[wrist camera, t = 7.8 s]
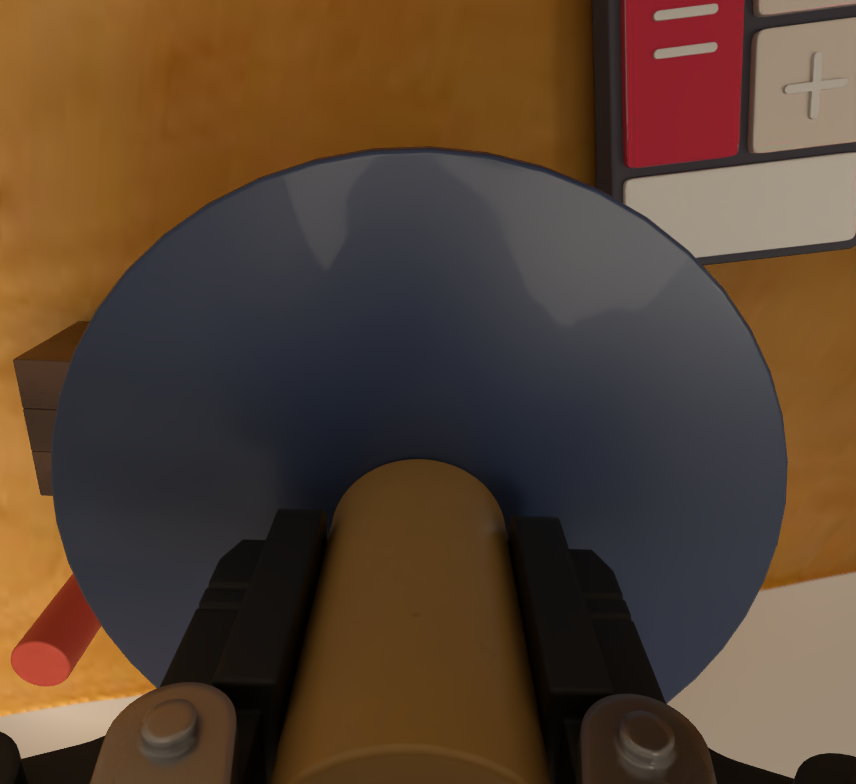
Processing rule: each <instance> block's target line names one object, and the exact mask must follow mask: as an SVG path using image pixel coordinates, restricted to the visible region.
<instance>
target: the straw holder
mask: <svg viewBox="0 0 856 784" xmlns="http://www.w3.org/2000/svg"><path fill="white" fill-rule="evenodd" d="M89 323H90V322H77V323H75V324H73V325H72V326H70V327H68V328H67V329H65V330H63V331H61V332H60V333H58V334H56V335H54V336H53V337H51V338H49V339H48V340H46V341H44V342H42V343H41V344H39V345H37V346H36V347H34V348H32V349H30V350H29V351H27V352H25V353H24V354H22V355H20V356H18V357H17V358H15V359H14V360H13V362H14V367H15V372H16V377H17V381H18V386H19V391H20V396H21V401H22V406H23V408H24V409H23V411H24V416H25V421H26V426H27V431H28V435H29V440H30V445H31V450H32V455H33V460H34V465H35V470H36V475H37V479H38V484H39V489H40V494H41V495H47V496H53V493H52V486H51V440H52V433H53V427H54V422H55V416H56V410H57V405H58V399H59V393H60V391H61V388H62V385H63V382H64V379H65V376H66V373H67V370H68V368H69V365H70V362H71V359H72V356H73V353H74V350H75V349H76V347H77V345H78V343H79V341H80V339H81V337H82V336H83V334H84V332H85V330H86V328H87V326H88V324H89Z"/></svg>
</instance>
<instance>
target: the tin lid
mask: <svg viewBox="0 0 856 784" xmlns="http://www.w3.org/2000/svg"><path fill="white" fill-rule="evenodd" d="M787 463H788V460H787V451H786V442H785V433H784V424H783V415H782V412H781V408H780V404H779V401H778V397H777V394H776V390H775V386H774V383H773V379H772V376H771V372H770V370H769V368H768V366H767V363H766V361H765V359H764V357H763V355H762V352H761V350H760V348H759V346H758V344H757V342H756V339H755V337H754V335H753V333H752V331H751V329H750V327H749V326H748V324H747V323H746V321H745V320H744V318H743V317H742V315H741V314H740V312H739V311H738V309H737V308H736V306H735V305H734V303H733V302H732V300H731V299H730V297H729V296H728V294H727V293H726V291H725V290H724V288H723V287H722V286H721V285H720V284H719V283H718V282H717V281H716V280H715V279H714V277H713V276H712V275H711V274H710V273H709V272H708V271H707V270H706V269H705V268H704V267H703V265H702V264H701V263H700V262H699V261H698V260H697V259H696V258H695V257H694V256H693V255H692V253H691V252H690V251H689V250H687V249H686V248H685V247H684V246H682V245H681V244H680V243H679V242H677V241H676V240H675V239H674V238H672V237H671V236H670V235H669V234H667V233H666V232H665V231H664V230H662V229H661V228H660V227H659V226H657V225H656V224H655V223H654V222H652V221H651V220H650V219H649V218H647V217H646V216H644V215H642V214H641V213H639V212H637V211H636V210H634V209H632V208H630V207H629V206H627V205H625V204H624V203H622V202H620V201H618V200H617V199H615V198H613V197H612V196H610V195H608V194H606V193H605V192H603V191H601V190H600V189H597V188H595V187H593V186H591V185H588V184H586V183H583V182H581V181H578V180H576V179H573V178H571V177H568V176H566V175H563V174H561V173H558V172H556V171H553V170H551V169H549V168H546V167H544V166H541V165H537V164H533V163H529V162H525V161H521V160H517V159H513V158H509V157H505V156H501V155H497V154H492V153H488V152H481V151H471V150H462V149H452V148H442V147H432V146H424V147H397V148H373V149H367V150H362V151H356V152H350V153H345V154H339V155H333V156H328V157H322V158H317V159H314V160H311V161H308V162H305V163H302V164H299V165H296V166H293V167H290V168H287V169H284V170H281V171H278V172H275V173H272V174H269V175H266V176H263V177H260V178H258V179H256V180H254V181H252V182H250V183H248V184H246V185H244V186H242V187H240V188H238V189H236V190H234V191H232V192H230V193H228V194H226V195H224V196H222V197H220V198H218V199H216V200H214V201H212V202H210V203H208V204H206V205H205V206H204V207H202V208H201V209H199V210H198V211H196V212H195V213H194V214H192V215H191V216H189V217H188V218H186V219H185V220H184V221H182V222H181V223H179V224H178V225H176V226H175V227H174V228H172V229H171V230H169V231H168V232H166V233H165V234H164V235H163V236H162V237H161V238H160V239H158V240H157V241H156V242H155V243H154V244H153V245H152V246H151V247H150V248H149V249H148V250H147V251H146V252H145V253H144V254H143V255H142V256H141V257H140V258H139V259H138V260H136V261H135V262H134V263H133V264H132V265H131V266H130V267H129V268H128V269H127V270H126V271H125V273H124V274H123V275H122V277H121V278H120V279H119V281H118V282H117V283H116V285H115V286H114V287H113V288H112V290H111V291H110V292H109V294H108V295H107V296H106V298H105V299H104V300H103V302H102V303H101V304H100V305H99V307H98V308H97V310H96V311H95V313H94V315H93V317H92V319H91V321H90V323H89V324H88V326H87V328H86V330H85V332H84V334H83V336H82V337H81V339H80V341H79V343H78V345H77V347H76V349H75V350H74V353H73V356H72V359H71V362H70V365H69V368H68V370H67V373H66V376H65V379H64V382H63V385H62V388H61V391H60V393H59V399H58V405H57V410H56V416H55V422H54V427H53V433H52V440H51V486H52V493H53V500H54V508H55V515H56V522H57V526H58V529H59V532H60V536H61V539H62V543H63V546H64V550H65V553H66V556H67V560H68V563H69V565H70V567H71V569H72V571H73V574H74V576H75V578H76V580H77V582H78V585H79V587H80V589H81V591H82V594H83V596H84V598H85V600H86V601H87V603H88V604H89V606H90V608H91V609H92V611H93V612H94V614H95V616H96V617H97V619H98V620H99V622H100V624H101V625H102V627H103V628H104V630H105V632H106V633H107V634H108V635H109V637H110V638H111V639H112V640H113V642H114V643H115V644H116V645H117V646H118V648H119V649H120V650H121V651H122V653H123V654H124V655H125V656H126V658H127V659H128V660H129V661H130V662H131V663H132V664H133V665H134V666H135V667H136V668H137V669H138V670H139V671H140V672H141V673H142V674H143V675H144V676H145V677H146V678H147V679H148V680H149V681H150V682H151V683H152V684H153V685H154V686H155V687H156V688H159V687H160V685H161V683H162V681H163V679H164V677H165V674H166V672H167V670H168V668H169V666H170V664H171V662H172V660H173V657H174V655H175V653H176V651H177V649H178V647H179V645H180V643H181V640H182V638H183V636H184V634H185V632H186V630H187V628H188V626H189V624H190V621H191V619H192V617H193V615H194V613H195V611H196V609H198V608H199V602H200V600H201V598H202V596H203V594H204V592H205V590H206V588H208V583H209V581H210V579H211V577H212V575H213V573H214V571H215V568H216V566H217V564H218V562H219V560H220V559H221V558H222V557H223V556H224V555H225V554H226V553H228V552H229V551H230V550H231V549H232V548H233V547H235V546H236V545H237V544H238V543H239V542H240V541H241V540H243V539H249V540H266V538H267V536H268V533H269V530H270V528H271V525H272V523H273V520H274V517H275V515H276V513H277V511H278V509H308V510H325V512H326V518H327V546H326V550H325V554H324V558H323V562H322V566H321V570H320V574H319V579H318V583H317V587H316V591H315V595H314V599H313V603H312V607H311V612H310V616H309V620H308V624H307V628H306V632H305V636H304V641H303V645H302V649H301V653H300V657H299V661H298V665H297V669H296V674H295V678H294V682H293V686H292V690H291V694H290V698H289V702H288V707H287V711H286V715H285V719H284V723H283V727H282V731H281V735H280V740H279V744H278V748H277V752H276V756H275V760H274V764H273V768H272V773H271V777H270V781H269V784H551V779H550V773H549V768H548V762H547V757H546V751H545V745H544V740H543V735H542V729H541V724H540V718H539V712H538V707H537V701H536V696H535V690H534V684H533V679H532V673H531V668H530V662H529V657H528V651H527V645H526V640H525V634H524V629H523V623H522V617H521V612H520V606H519V601H518V595H517V590H516V584H515V578H514V573H513V567H512V562H511V556H510V550H509V545H508V537H509V527H510V521H511V517H512V516H539V517H558V518H559V520H560V522H561V526H562V529H563V532H564V535H565V538H566V541H567V544H568V548H569V549H588V550H593V551H594V552H595V553H596V554H597V555H598V556H599V557H600V558H601V559H602V560H603V561H604V562H605V563H606V564H607V565H608V566H609V567H610V568H611V569H612V570H613V571H614V574H615V576H616V579H617V581H618V584H619V586H620V589H621V591H622V594H623V600H625V601H626V604H627V606H628V609H629V611H630V614H631V620H632V621H634V624H635V626H636V629H637V631H638V634H639V636H640V639H641V641H642V644H643V646H644V649H645V652H646V654H647V657H648V659H649V662H650V664H651V667H652V669H653V672H654V674H655V677H656V679H657V682H658V684H659V687H660V689H661V692H662V694H663V697H664V699H665V702H666V704H667V703H668V702H669V701H670V700H672V699H673V698H674V697H675V696H676V695H677V694H678V693H680V692H681V691H682V690H683V689H684V688H685V687H687V686H688V685H689V684H690V683H691V682H692V681H693V680H695V679H696V678H697V677H698V676H699V674H700V673H701V672H702V671H703V670H704V669H705V668H706V667H707V666H708V664H709V663H710V662H711V661H712V660H713V659H714V658H715V657H716V656H717V655H718V654H719V652H720V651H721V650H722V649H723V648H724V646H725V645H726V644H727V642H728V641H729V639H730V638H731V637H732V635H733V634H734V632H735V631H736V629H737V628H738V626H739V625H740V624H741V622H742V621H743V619H744V618H745V616H746V615H747V613H748V611H749V609H750V607H751V605H752V603H753V601H754V599H755V598H756V596H757V594H758V592H759V590H760V588H761V586H762V584H763V582H764V580H765V577H766V574H767V572H768V569H769V566H770V563H771V560H772V558H773V555H774V552H775V549H776V546H777V544H778V539H779V534H780V529H781V524H782V519H783V514H784V509H785V504H786V485H787Z"/></svg>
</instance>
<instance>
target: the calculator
mask: <svg viewBox="0 0 856 784" xmlns="http://www.w3.org/2000/svg"><path fill="white" fill-rule="evenodd" d="M592 21H593V53H594V86H595V118H596V151H597V173H596V183H595V188H597V189H600V190H601V191H603V192H605V193H606V194H608V195H610V196H612V197H613V198H615V199H617V200H618V201H620V202H622V203H624V204H625V205H627V206H629V207H630V208H632V209H634V210H636V211H637V212H639V213H641V214H642V215H644V216H646V217H647V218H649V219H650V220H651V221H652V222H654V223H655V224H656V225H657V226H659V227H660V228H661V229H662V230H664V231H665V232H666V233H667V234H669V235H670V236H671V237H672V238H674V239H675V240H676V241H677V242H679V243H680V244H681V245H682V246H684V247H685V248H686V249H687V250H689V251H690V252H691V253H692V255H693V256H694V257H695V258H696V259H697V260H698V261H699V262H700V263H701V264H702V265H711V264H720V263H729V262H737V261H746V260H755V259H764V258H773V257H782V256H790V255H799V254H808V253H817V252H826V251H835V250H843V249H849V248H852V247H854V246H855V245H856V0H592Z"/></svg>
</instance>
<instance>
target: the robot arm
mask: <svg viewBox="0 0 856 784" xmlns="http://www.w3.org/2000/svg"><path fill="white" fill-rule="evenodd" d="M508 545H509V550H510V556H511V562H512V567H513V573H514V578H515V584H516V590H517V595H518V601H519V606H520V612H521V617H522V623H523V629H524V634H525V640H526V645H527V651H528V657H529V662H530V668H531V673H532V679H533V684H534V690H535V696H536V701H537V707H538V712H539V718H540V724H541V729H542V735H543V740H544V745H545V751H546V757H547V762H548V768H549V773H550V779H551V784H856V757H854V756H850V755H844V754H835V753H827V754H819V755H816V756H813V757H810V758H809V759H807V760H806V761H804V762H803V763H802V765H801V766H800V767H799V768H798V771H797V773H796V776H795V778H794V779H793V778H789V777H786V776H783V775H780V774H777V773H773V772H770V771H767V770H764V769H760V768H757V767H754V766H750V765H747V764H744V763H741V762H738V761H735V760H732V759H730V758H727V757H725V756H723V755H721V754H718V753H717V752H715V751H713V750H711V749H710V748H708V747H707V744H706V742H705V741H704V739H703V737H702V735H701V734H700V733H699V731H698V730H697V729H696V727H695V726H694V725H693V724H692V723H691V722H690V721H689V720H688V719H687V718H686V717H685V716H683V715H682V714H681V713H680V712H678V711H677V710H675V709H674V708H672V707H670V706H669V705H667V704H666V702H665V699H664V697H663V694H662V692H661V689H660V687H659V684H658V682H657V679H656V677H655V674H654V672H653V669H652V667H651V664H650V662H649V659H648V657H647V654H646V652H645V649H644V646H643V644H642V641H641V639H640V636H639V634H638V631H637V629H636V626H635V624H634V621H632V620H631V614H630V611H629V609H628V606H627V604H626V601H625V600H623V594H622V591H621V589H620V586H619V584H618V581H617V579H616V576H615V574H614V571H613V570H612V569H611V568H610V567H609V566H608V565H607V564H606V563H605V562H604V561H603V560H602V559H601V558H600V557H599V556H598V555H597V554H596V553H595V552H594V551H593V550H588V549H569V548H568V544H567V541H566V538H565V535H564V532H563V529H562V526H561V522H560V520H559V518H558V517H539V516H512V517H511V521H510V527H509V537H508ZM326 546H327V518H326V512H325V510H308V509H278V511H277V513H276V515H275V517H274V520H273V523H272V525H271V528H270V530H269V533H268V536H267V538H266V540H249V539H243V540H241V541H240V542H239V543H238V544H237V545H236V546H235V547H233V548H232V549H231V550H230V551H229V552H228V553H226V554H225V555H224V556H223V557H222V558H221V559H220V560H219V562H218V564H217V566H216V568H215V571H214V573H213V575H212V577H211V579H210V581H209V583H208V588H206V590H205V592H204V594H203V596H202V598H201V600H200V602H199V608H198V609H196V611H195V613H194V615H193V617H192V619H191V621H190V624H189V626H188V628H187V630H186V632H185V634H184V636H183V638H182V640H181V643H180V645H179V647H178V649H177V651H176V653H175V655H174V657H173V660H172V662H171V664H170V666H169V668H168V670H167V672H166V674H165V677H164V679H163V681H162V683H161V685H160V687H159V688H157V689H155V690H153V691H150V692H148V693H146V694H145V695H143V696H141V697H139V698H138V699H136V700H135V701H134V702H132V703H131V704H129V705H128V706H127V707H126V708H125V709H124V710H123V711H122V712H121V713H120V714H119V715H118V716H117V717H116V719H115V720H114V721H113V723H112V724H111V726H110V727H109V729H108V731H107V733H106V735H105V736H103V737H100V738H98V739H96V740H93V741H91V742H87V743H83V744H80V745H76V746H72V747H68V748H64V749H60V750H56V751H52V752H48V753H44V754H40V755H36V756H32V757H28V758H24V759H21V757H20V753H19V750H18V748H17V745H16V743H15V742H14V741H13V740H12V738H10V737H9V736H8V735H6V734H4V733H2V732H0V784H269V781H270V777H271V773H272V768H273V764H274V760H275V756H276V752H277V748H278V744H279V740H280V735H281V731H282V727H283V723H284V719H285V715H286V711H287V707H288V702H289V698H290V694H291V690H292V686H293V682H294V678H295V674H296V669H297V665H298V661H299V657H300V653H301V649H302V645H303V641H304V636H305V632H306V628H307V624H308V620H309V616H310V612H311V607H312V603H313V599H314V595H315V591H316V587H317V583H318V579H319V574H320V570H321V566H322V562H323V558H324V554H325V550H326Z"/></svg>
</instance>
